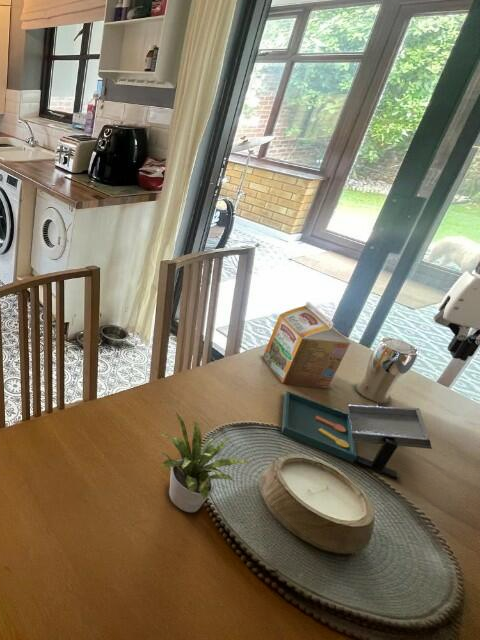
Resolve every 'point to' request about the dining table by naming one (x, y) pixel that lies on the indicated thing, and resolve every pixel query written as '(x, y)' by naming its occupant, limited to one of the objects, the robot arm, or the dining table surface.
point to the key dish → (389, 425)
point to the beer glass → (387, 368)
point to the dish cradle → (381, 458)
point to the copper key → (332, 424)
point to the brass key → (335, 439)
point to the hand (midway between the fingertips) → (457, 355)
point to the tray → (317, 425)
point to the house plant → (194, 470)
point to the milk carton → (305, 347)
